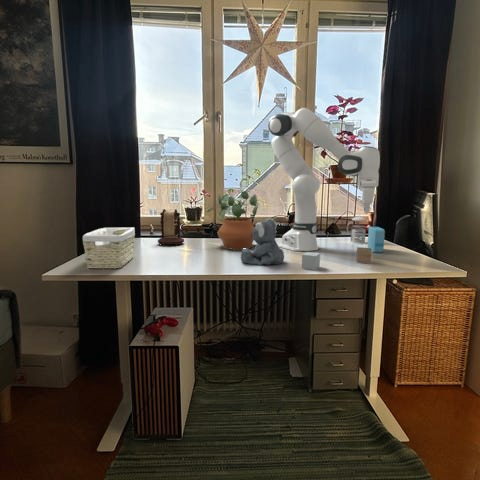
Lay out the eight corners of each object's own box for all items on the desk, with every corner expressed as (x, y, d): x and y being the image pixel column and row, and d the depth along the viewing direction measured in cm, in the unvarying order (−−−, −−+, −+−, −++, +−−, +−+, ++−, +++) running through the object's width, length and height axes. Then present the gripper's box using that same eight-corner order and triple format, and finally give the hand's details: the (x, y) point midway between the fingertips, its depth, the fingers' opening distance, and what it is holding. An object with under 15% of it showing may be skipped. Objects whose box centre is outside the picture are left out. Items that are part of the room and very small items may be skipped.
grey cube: (301, 268, 147) (302, 254, 146) (305, 265, 153) (306, 251, 152) (315, 270, 145) (316, 256, 144) (319, 267, 150) (320, 253, 149)
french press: (369, 244, 199) (372, 200, 195) (348, 244, 199) (351, 200, 195) (363, 241, 209) (366, 199, 204) (343, 241, 209) (346, 199, 205)
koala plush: (256, 256, 170) (256, 216, 167) (290, 260, 161) (292, 218, 158) (238, 263, 156) (238, 219, 152) (274, 268, 147) (275, 222, 143)
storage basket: (103, 257, 167) (101, 226, 165) (137, 257, 168) (136, 226, 165) (83, 270, 144) (80, 235, 141) (123, 270, 144) (121, 235, 142)
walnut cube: (356, 259, 162) (357, 247, 161) (370, 260, 161) (370, 248, 160) (356, 262, 157) (357, 249, 156) (370, 263, 155) (371, 250, 154)
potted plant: (256, 251, 180) (257, 192, 175) (203, 250, 183) (201, 192, 177) (258, 243, 202) (259, 190, 197) (210, 242, 205) (210, 190, 200)
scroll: (154, 246, 193) (152, 210, 190) (162, 241, 208) (161, 207, 204) (180, 247, 191) (178, 210, 188) (187, 242, 206) (186, 208, 202)
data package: (383, 253, 176) (385, 229, 174) (374, 253, 177) (375, 229, 175) (375, 248, 188) (377, 226, 186) (367, 248, 188) (368, 226, 186)
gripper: (360, 182, 172) (358, 210, 174) (361, 182, 153) (359, 214, 155) (373, 182, 170) (372, 210, 172) (377, 182, 151) (374, 214, 153)
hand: (366, 212), depth 164 cm, fingers open, 8 cm apart
